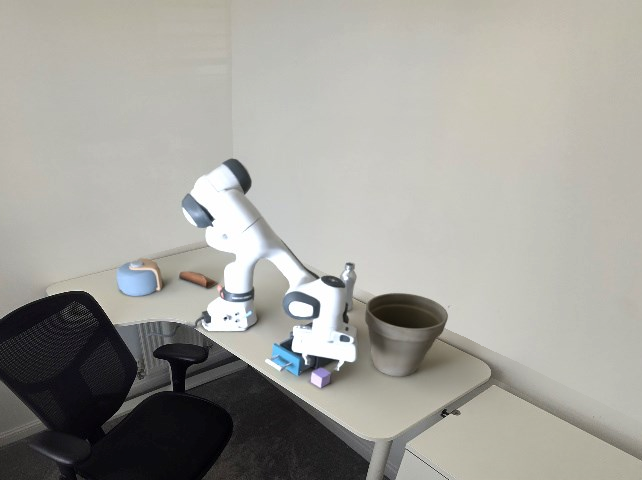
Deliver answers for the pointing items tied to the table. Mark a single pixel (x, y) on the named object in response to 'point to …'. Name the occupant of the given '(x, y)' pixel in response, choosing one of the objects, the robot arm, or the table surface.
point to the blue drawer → (289, 358)
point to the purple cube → (320, 377)
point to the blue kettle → (139, 277)
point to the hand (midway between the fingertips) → (322, 366)
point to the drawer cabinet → (319, 360)
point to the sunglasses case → (197, 278)
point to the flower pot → (402, 330)
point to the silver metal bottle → (349, 282)
